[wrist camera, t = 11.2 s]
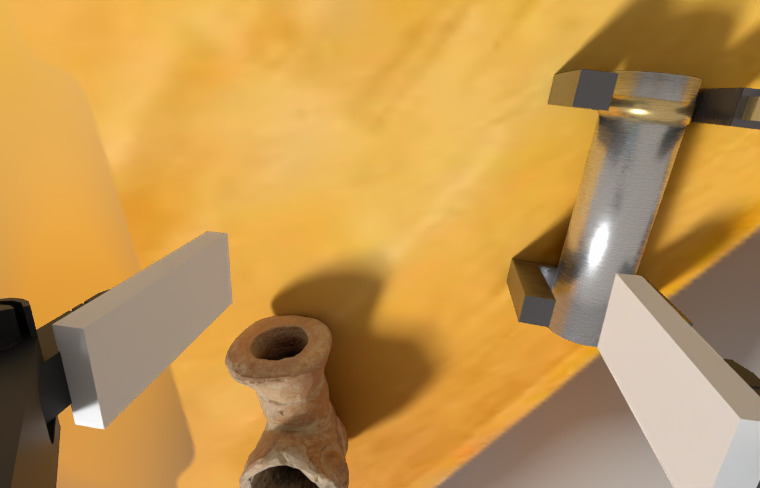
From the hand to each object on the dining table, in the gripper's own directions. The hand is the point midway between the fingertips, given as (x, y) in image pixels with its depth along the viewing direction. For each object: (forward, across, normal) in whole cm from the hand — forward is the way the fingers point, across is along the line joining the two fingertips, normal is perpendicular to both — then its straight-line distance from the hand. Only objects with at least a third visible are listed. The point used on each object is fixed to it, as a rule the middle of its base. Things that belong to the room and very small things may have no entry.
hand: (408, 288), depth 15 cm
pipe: (+21, -10, -21) cm, 31 cm away
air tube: (+20, +12, -1) cm, 24 cm away
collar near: (+21, +13, +6) cm, 26 cm away
